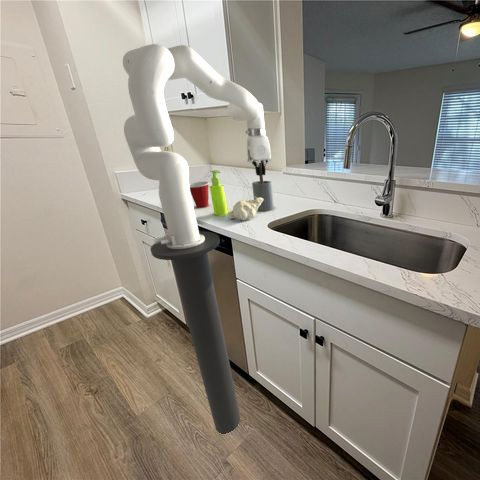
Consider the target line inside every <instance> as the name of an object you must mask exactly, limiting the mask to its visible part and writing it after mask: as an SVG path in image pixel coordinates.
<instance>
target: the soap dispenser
mask: <svg viewBox="0 0 480 480" xmlns="http://www.w3.org/2000/svg"><path fill="white" fill-rule="evenodd" d="M210 173H212V177H211V178H210V180H211V185H209V191H210V197H211V201H212V208H213V213H214V216H218V217H220V216H225V215H228V213H229V211H228V206H227V200H226V192H225V187H224V185H223V184H221V181H220V177H218V174H220V173H221V171H220V170H217V169H213V170H210Z"/></svg>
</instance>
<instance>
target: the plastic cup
mask: <svg viewBox="0 0 480 480" xmlns="http://www.w3.org/2000/svg"><path fill="white" fill-rule="evenodd" d="M209 184H210V182H209V181H197V182H192V183H189V186H190V192H191V197H192V201H193V203H194V204H195V207H196V208H198V209H202V208H207V207H209V198H210V197H209V188H210V185H209Z"/></svg>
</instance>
